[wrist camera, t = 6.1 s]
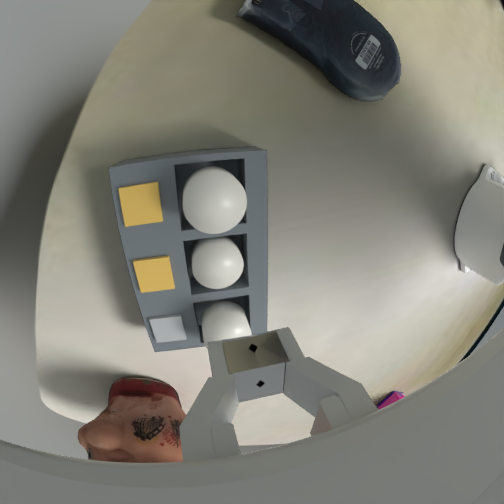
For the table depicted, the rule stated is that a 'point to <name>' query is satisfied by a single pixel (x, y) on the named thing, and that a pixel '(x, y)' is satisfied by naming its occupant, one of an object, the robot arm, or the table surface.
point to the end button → (213, 200)
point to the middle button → (216, 261)
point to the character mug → (136, 424)
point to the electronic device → (333, 41)
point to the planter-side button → (224, 322)
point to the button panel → (188, 241)
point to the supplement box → (390, 399)
